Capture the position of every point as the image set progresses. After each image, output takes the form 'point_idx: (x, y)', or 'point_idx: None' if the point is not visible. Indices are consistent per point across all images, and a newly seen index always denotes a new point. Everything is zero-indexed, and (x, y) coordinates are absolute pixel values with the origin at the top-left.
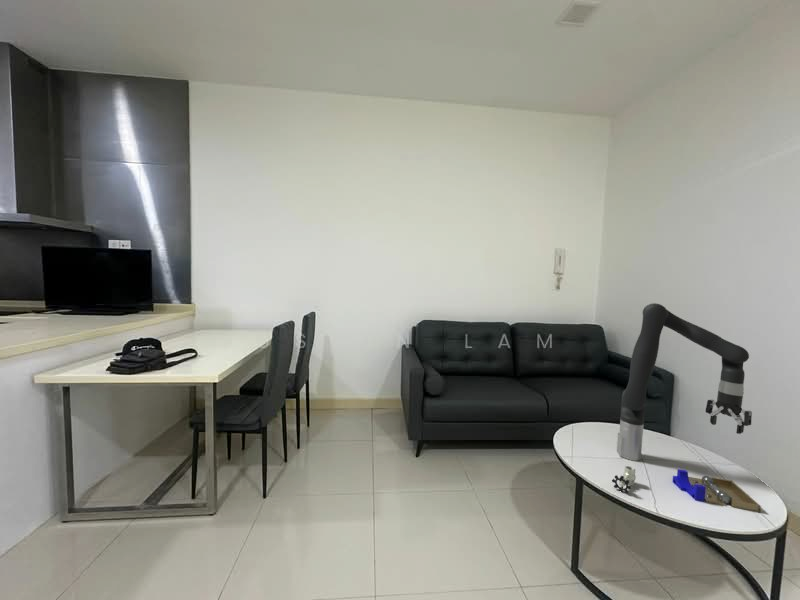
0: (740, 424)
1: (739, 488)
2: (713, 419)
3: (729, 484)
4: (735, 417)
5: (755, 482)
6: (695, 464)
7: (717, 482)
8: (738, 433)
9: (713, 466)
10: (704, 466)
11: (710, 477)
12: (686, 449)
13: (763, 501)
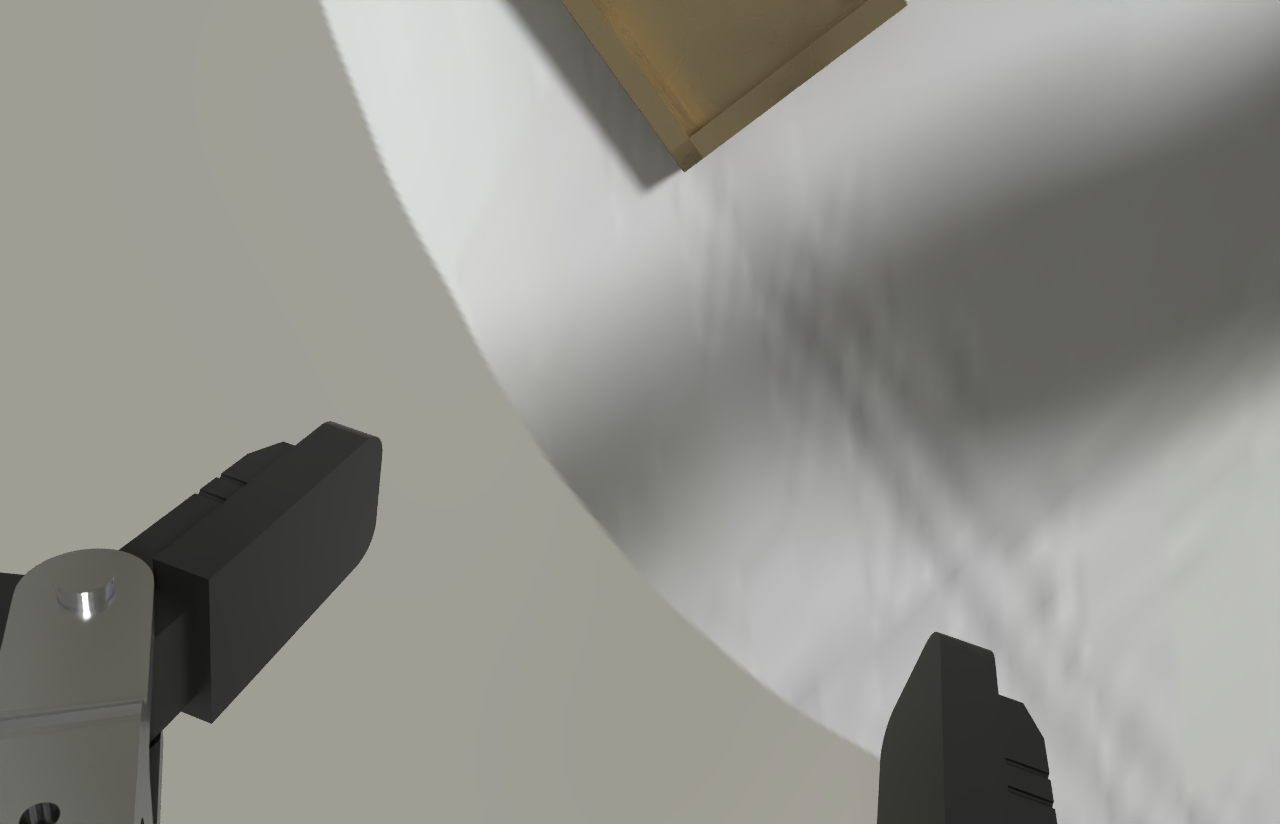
0: (82, 569)
1: (589, 12)
2: (950, 765)
3: (704, 123)
4: (22, 778)
5: (582, 466)
6: (1070, 418)
7: (804, 48)
8: (333, 423)
9: (909, 524)
10: (982, 446)
11: (871, 8)
12: (1193, 754)
13: (442, 74)
